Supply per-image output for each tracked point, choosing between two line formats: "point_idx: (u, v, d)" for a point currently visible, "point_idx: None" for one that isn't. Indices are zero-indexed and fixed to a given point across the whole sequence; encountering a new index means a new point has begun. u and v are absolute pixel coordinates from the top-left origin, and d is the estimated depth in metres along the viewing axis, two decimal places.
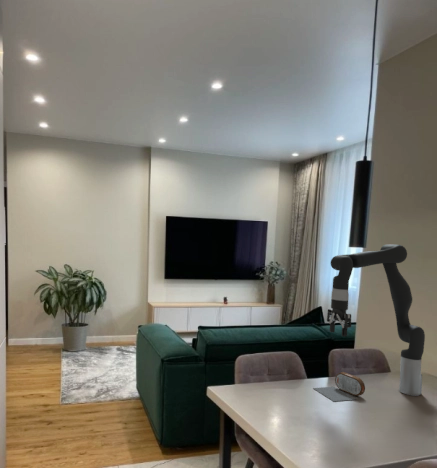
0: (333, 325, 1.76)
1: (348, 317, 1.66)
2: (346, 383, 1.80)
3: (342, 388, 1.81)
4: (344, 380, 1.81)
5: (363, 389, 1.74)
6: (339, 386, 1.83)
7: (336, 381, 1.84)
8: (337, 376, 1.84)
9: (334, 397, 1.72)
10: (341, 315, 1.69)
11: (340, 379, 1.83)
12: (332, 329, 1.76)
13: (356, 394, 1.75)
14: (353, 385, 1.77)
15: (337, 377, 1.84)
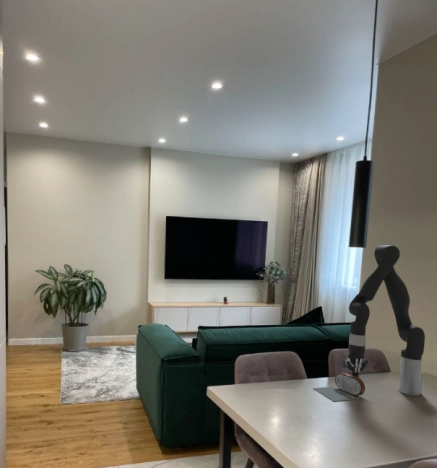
0: None
1: None
2: (346, 383, 1.80)
3: (342, 388, 1.81)
4: (344, 381, 1.81)
5: (363, 389, 1.74)
6: (339, 386, 1.83)
7: (336, 381, 1.84)
8: (337, 376, 1.84)
9: (334, 397, 1.72)
10: (362, 361, 1.82)
11: (340, 379, 1.83)
12: None
13: (356, 394, 1.75)
14: (353, 385, 1.77)
15: (337, 377, 1.84)
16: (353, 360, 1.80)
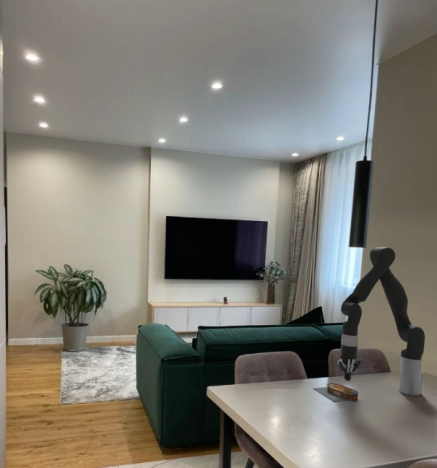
0: None
1: None
2: None
3: None
4: None
5: (356, 396, 1.71)
6: None
7: None
8: None
9: (334, 397, 1.72)
10: (354, 361, 1.80)
11: None
12: None
13: None
14: None
15: None
16: (345, 361, 1.78)
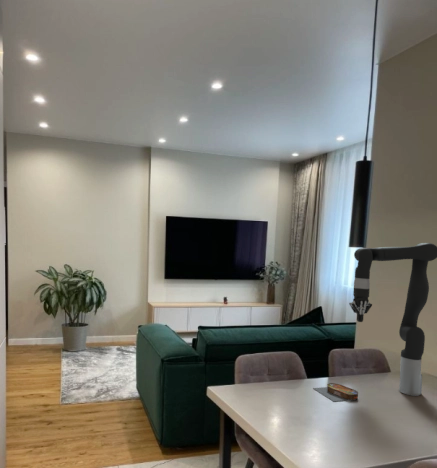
0: None
1: None
2: None
3: None
4: None
5: (356, 396, 1.71)
6: None
7: None
8: None
9: (334, 397, 1.72)
10: (366, 304, 1.89)
11: None
12: None
13: None
14: None
15: None
16: (358, 303, 1.88)
